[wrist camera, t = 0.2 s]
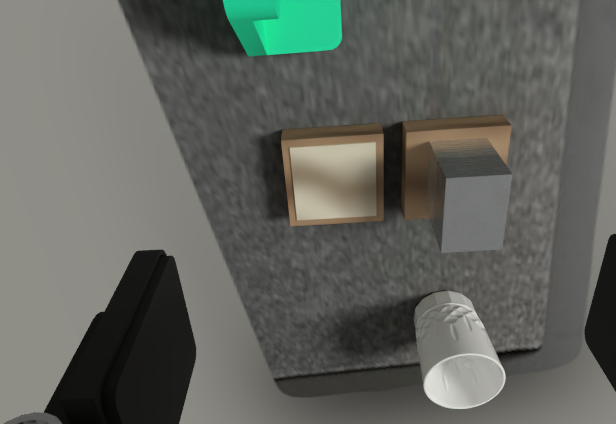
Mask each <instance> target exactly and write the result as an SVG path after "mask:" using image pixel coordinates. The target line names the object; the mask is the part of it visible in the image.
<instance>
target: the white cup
mask: <svg viewBox="0 0 616 424" xmlns="http://www.w3.org/2000/svg"><path fill="white" fill-rule="evenodd" d="M414 324H415V329H416V341H417V349H418V356H419V362H420V368H421V374H422V380H423V386H424V391H425V393H426V395H427V396H428V397H429V399H431V400H432V401H433V402H435V403H436V404H438V405H440V406H443V407H447V408H452V409H466V408H471V407H476V406H479V405H482V404H484V403H486V402H488V401H489V400H491V399H492V398H494V397H495V396H496V395H497V394H498V393H499V392H500V391H501V389H502V388H503V386H504V383H505V372H504V369H503V367H502V365H501V363H500V360H499V358H498V356H497V354H496V352H495V350H494V347H493V345H492V343H491V341H490V339H489V337H488V334H487V332H486V330H485V328H484V326H483V324H482V322H481V320H480V319H479V318H478V316H477V314H476V312H475V310H474V308H473V305H472V303H471V301H470V300H469V299H468V298H467V297H465V296H464V295H463V294H461V293H458V292H453V291H441V292H435V293H432V294H431V295H429V296H427V297H425V298H423V299H422V300H421V301H420V303H419V304H418V305H417V307H416V308H415V313H414Z"/></svg>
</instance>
